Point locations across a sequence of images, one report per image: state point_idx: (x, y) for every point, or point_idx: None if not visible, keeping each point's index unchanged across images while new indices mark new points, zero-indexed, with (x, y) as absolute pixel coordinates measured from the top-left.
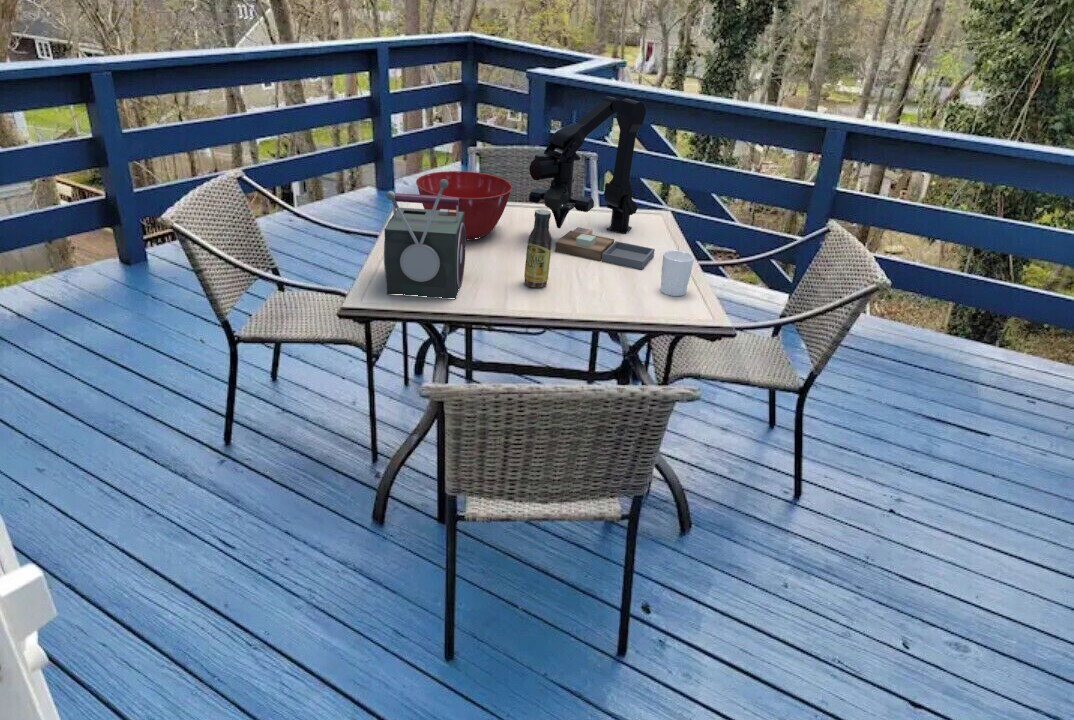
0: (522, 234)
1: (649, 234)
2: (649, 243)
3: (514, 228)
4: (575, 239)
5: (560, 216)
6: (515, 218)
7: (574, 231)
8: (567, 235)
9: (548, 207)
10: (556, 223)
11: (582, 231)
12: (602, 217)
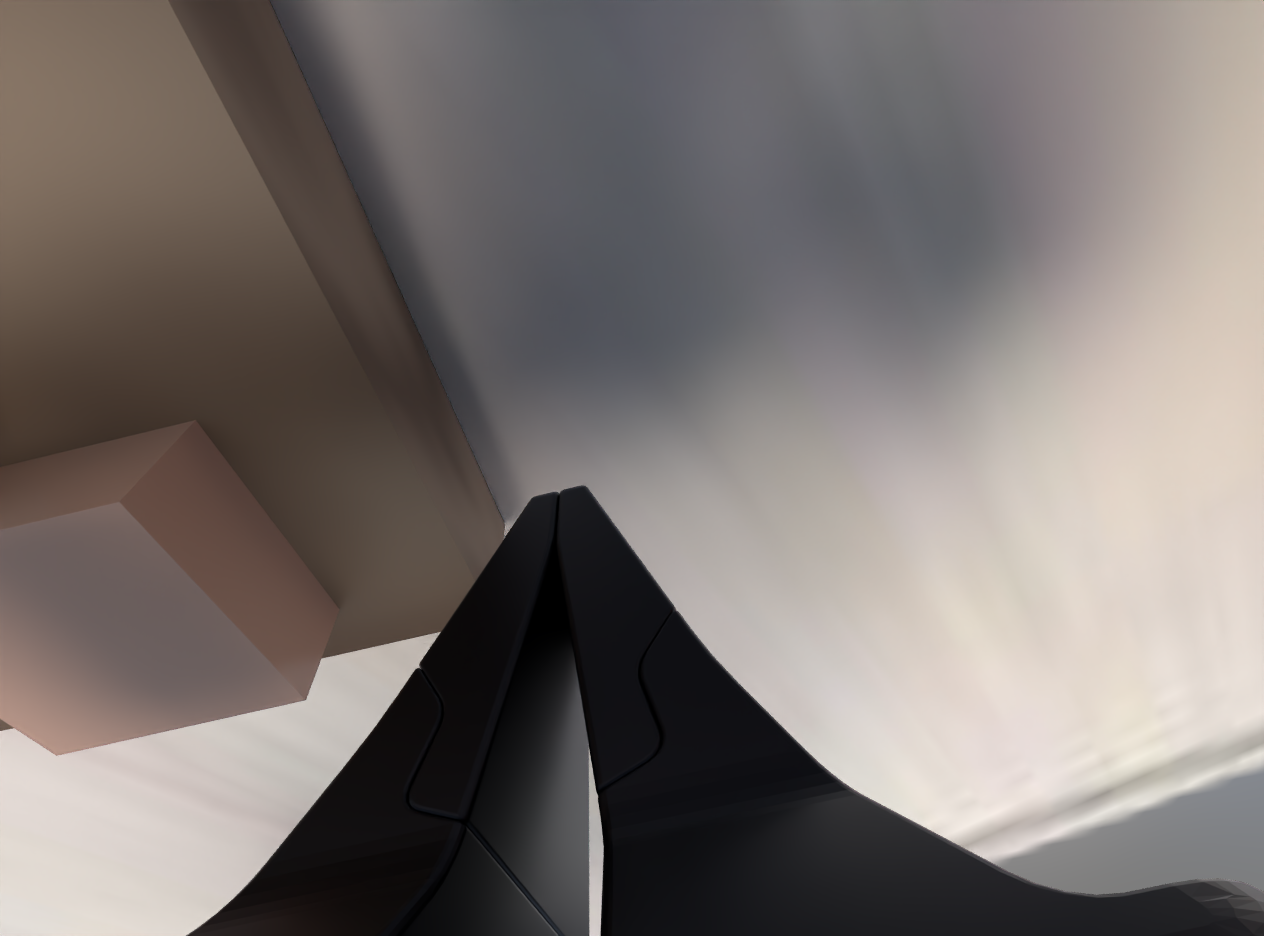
0: (1115, 254)
1: None
2: (18, 872)
3: (1256, 362)
4: (66, 392)
5: (468, 712)
6: (1260, 580)
7: (84, 516)
8: (345, 447)
9: (1117, 909)
10: (601, 529)
11: (16, 617)
12: None
